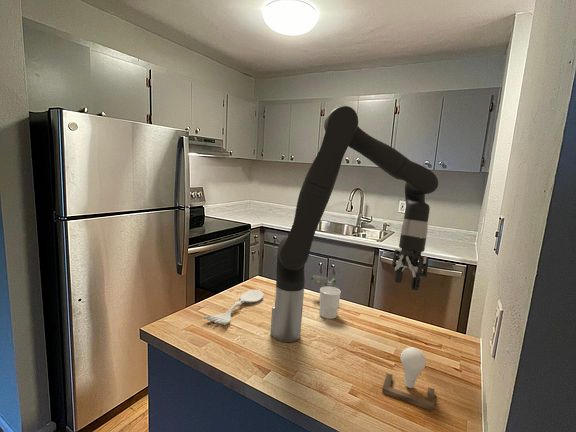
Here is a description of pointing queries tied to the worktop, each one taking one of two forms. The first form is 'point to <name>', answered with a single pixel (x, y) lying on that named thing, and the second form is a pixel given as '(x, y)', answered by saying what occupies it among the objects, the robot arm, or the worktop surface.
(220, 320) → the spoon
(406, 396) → the walnut holder
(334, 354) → the worktop surface
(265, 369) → the worktop surface
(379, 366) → the worktop surface
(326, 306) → the white cup
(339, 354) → the worktop surface
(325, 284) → the mechanical component
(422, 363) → the lightbulb
